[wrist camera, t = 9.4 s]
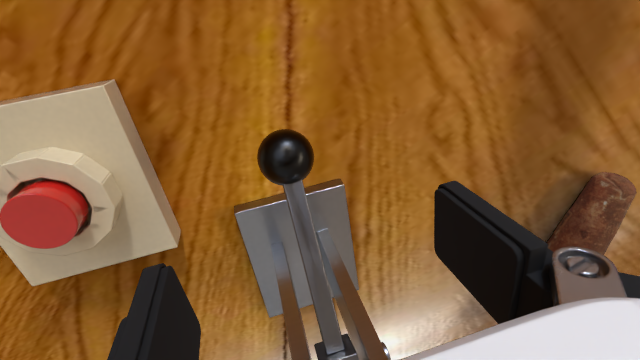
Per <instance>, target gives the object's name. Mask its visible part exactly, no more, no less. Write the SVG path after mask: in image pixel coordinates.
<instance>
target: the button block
mask: <svg viewBox="0 0 640 360" xmlns="http://www.w3.org/2000/svg"><path fill="white" fill-rule="evenodd" d="M46 180H47V181H57V182H61V183H64V184H67V185H69V186H71V187H73V188H74V189H76V190H77V191H78V192H79V193H80V194H81V195H82V196H83V197H84V199H85V200H86V202H87V205H88V217H87V219H86V221H85V222H84V224H83V225H82V226H81V228H80V229H79V231H78V232H77V234H76V235H75V236H74V238H73V239H72V240H71V241H69V242H68V243H66V244H64V245H62V246H59V247H56V248H50V249H39V248H32V247H28V246H26V245H23V244H21V243H19V242H17V241H15V240H14V239H12V238H11V237H10V236H9V235H8V234H7V233H6V232H5V231H4V229H3V228H2V226H1V223H0V246H1V247H2V248H3V250H4V251H5V252H6V253H7V255H8V256H9V257H10V259H11V260H12V261H13V262H14V264H15V265H16V266H17V268H18V269H19V270H20V271H21V273H22V274H23V275H24V276H25V278H26V279H27V280H28V282H29V283H30V284H31V285H32V286H36V285H40V284H44V283H47V282H51V281H55V280H58V279H62V278H66V277H69V276H73V275H77V274H80V273H84V272H88V271H91V270H95V269H99V268H102V267H106V266H110V265H114V264H117V263H121V262H125V261H128V260H132V259H136V258H139V257H143V256H147V255H150V254H154V253H158V252H161V251H165V250H169V249H172V248H176V247H178V242H179V238H180V234H181V229H180V227H179V225H178V223H177V220H176V218H175V216H174V214H173V211H172V209H171V207H170V204H169V202H168V200H167V198H166V195H165V193H164V191H163V189H162V186H161V184H160V182H159V179H158V177H157V175H156V173H155V170H154V168H153V166H152V164H151V161H150V159H149V157H148V155H147V152H146V150H145V148H144V145H143V143H142V141H141V139H140V136H139V134H138V132H137V130H136V127H135V125H134V123H133V121H132V118H131V116H130V114H129V111H128V109H127V107H126V105H125V102H124V100H123V98H122V96H121V93H120V91H119V89H118V87H117V84H116V82H115V80H108V81H103V82H98V83H92V84H87V85H82V86H77V87H72V88H67V89H62V90H57V91H52V92H46V93H41V94H36V95H31V96H26V97H21V98H16V99H11V100H5V101H0V211H1V209H2V207H3V205H4V204H5V203H6V202H7V201H8V200H9V199H11V198H12V197H13V196H14V195H16V194H17V193H18V192H19V191H20V190H22V189H23V188H24V187H25V186H27V185H29V184H31V183H34V182H37V181H46Z"/></svg>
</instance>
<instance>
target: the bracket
mask: <svg viewBox="0 0 640 360" xmlns="http://www.w3.org/2000/svg"><path fill="white" fill-rule="evenodd" d="M304 189H305V193H306V197H307V201H308V205H309V209H310V213H311V217H312V221H313V225H314V229H315V233H316V237H317V241H318V245H319V249H320V253H321V257H322V260H323V264H324V268H325V272H326V276H327V280H328V284H329V288H330V292H331V296H332V298H334V297H335V300H336V302H337V305H338V307H339V310H340V313H341V315H342V318H343V321H344V323H345V326H346V329H347V331H348V334H349V337H350V339H351V342H352V344H353V346H354V348H355V350H356V352H357V354H358V358H359V360H391V358H390V355H389V352H388V350H387V348H386V346H385V344H384V343H383V342H380V340H379V338H378V335H377V333H376V331H375V329H374V327H373V325H372V323H371V320H370V318H369V316H368V314H367V312H366V310H365V308H364V305H363V303H362V301H361V299H360V297H359V295H358V293H357V291H356V290H359V286H358V279H357V272H356V265H355V258H354V251H353V244H352V236H351V229H350V222H349V215H348V208H347V201H346V194H345V187H344V184H343V182H342V181H341V179H337V180H333V181H329V182H325V183H321V184H317V185H314V186H310V187H306V188H304ZM234 214H235V217H236V220H237V223H238V226H239V229H240V232H241V235H242V238H243V241H244V244H245V247H246V250H247V253H248V256H249V259H250V262H251V264H252V267H253V270H254V273H255V276H256V279H257V282H258V285H259V288H260V291H261V294H262V297H263V300H264V303H265V306H266V309H267V312H268V315H269V317H273V316H277V315H280V314H284V320H285V325H286V331H287V336H288V341H289V347H290V352H291V358H292V360H312V358H311V354H310V350H309V346H308V342H307V337H306V333H305V329H304V325H303V321H302V317H301V313H300V309H299V308H302V307H305V306H308V305H312V304H313V301H312V297H311V293H310V289H309V285H308V282H307V278H306V274H305V270H304V266H303V262H302V258H301V254H300V250H299V247H298V243H297V239H296V235H295V231H294V227H293V223H292V219H291V215H290V212H289V208H288V204H287V200H286V196H285V193H283V194H279V195H275V196H271V197H268V198H264V199H260V200H256V201H252V202H248V203H245V204H241V205H237V206H234Z"/></svg>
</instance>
